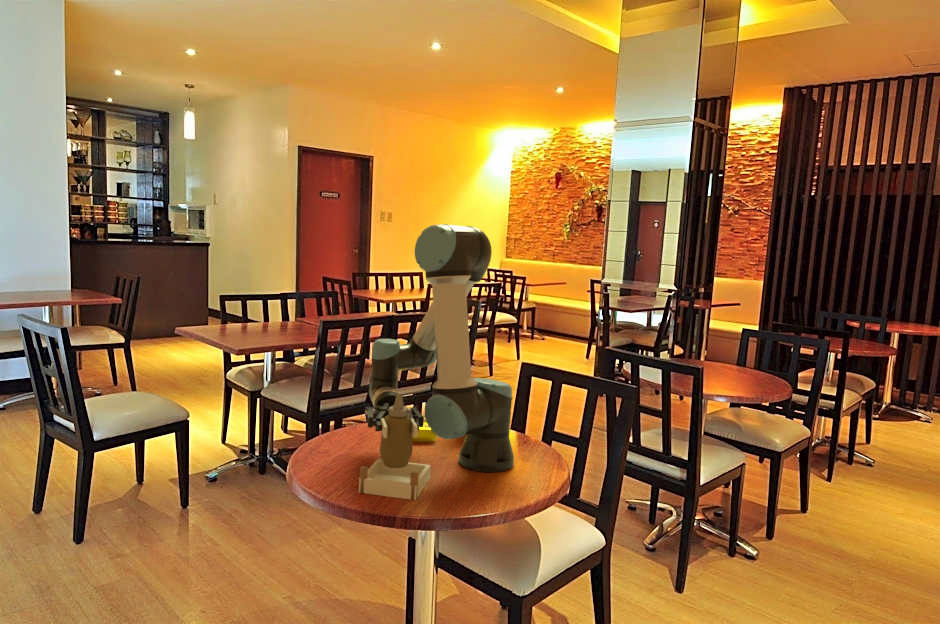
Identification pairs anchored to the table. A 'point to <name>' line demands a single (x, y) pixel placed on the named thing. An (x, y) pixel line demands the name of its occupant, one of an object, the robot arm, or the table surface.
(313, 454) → the table surface
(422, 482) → the tray
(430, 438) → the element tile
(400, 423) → the squeeze bottle
